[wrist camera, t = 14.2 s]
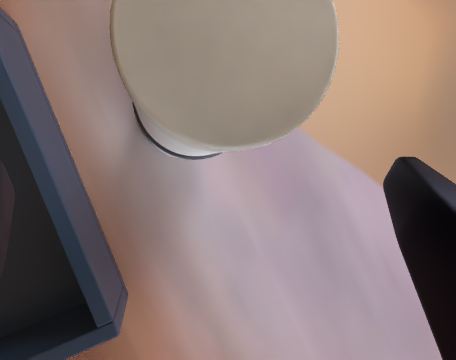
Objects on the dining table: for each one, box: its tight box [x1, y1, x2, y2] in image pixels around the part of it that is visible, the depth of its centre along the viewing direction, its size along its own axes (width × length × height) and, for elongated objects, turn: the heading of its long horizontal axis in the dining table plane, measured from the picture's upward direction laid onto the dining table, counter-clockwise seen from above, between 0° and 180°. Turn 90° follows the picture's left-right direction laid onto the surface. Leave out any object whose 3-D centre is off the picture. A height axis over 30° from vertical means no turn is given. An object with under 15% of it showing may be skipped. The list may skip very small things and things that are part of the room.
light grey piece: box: [110, 0, 339, 160], centre depth 13 cm, size 4×4×12 cm
